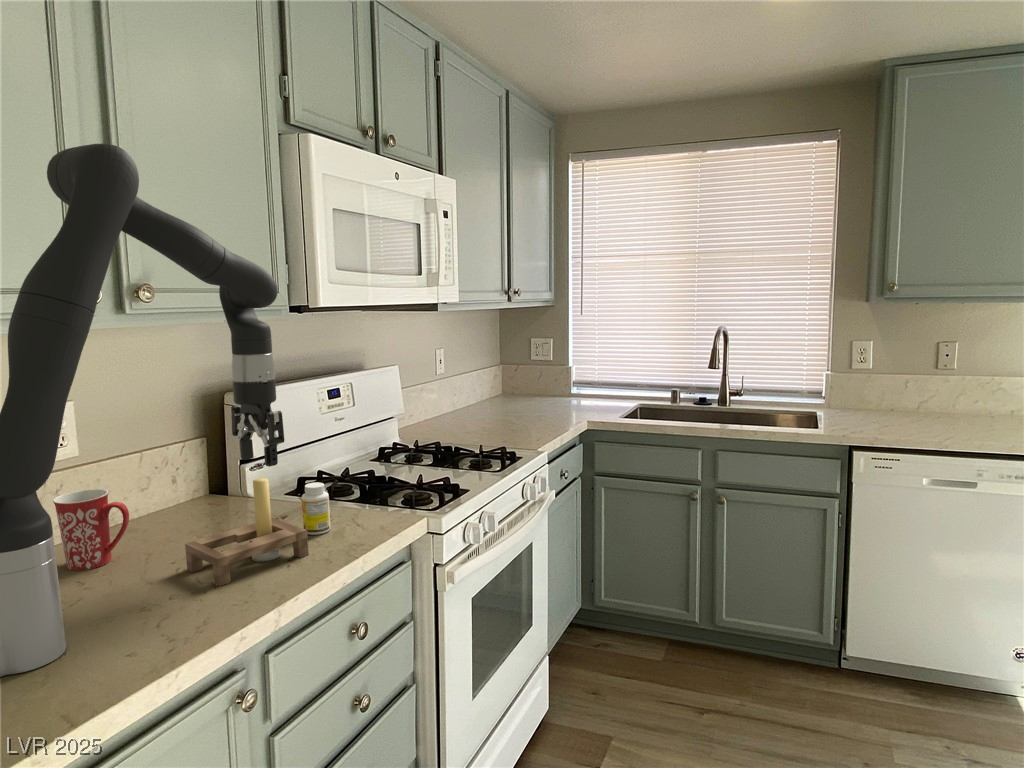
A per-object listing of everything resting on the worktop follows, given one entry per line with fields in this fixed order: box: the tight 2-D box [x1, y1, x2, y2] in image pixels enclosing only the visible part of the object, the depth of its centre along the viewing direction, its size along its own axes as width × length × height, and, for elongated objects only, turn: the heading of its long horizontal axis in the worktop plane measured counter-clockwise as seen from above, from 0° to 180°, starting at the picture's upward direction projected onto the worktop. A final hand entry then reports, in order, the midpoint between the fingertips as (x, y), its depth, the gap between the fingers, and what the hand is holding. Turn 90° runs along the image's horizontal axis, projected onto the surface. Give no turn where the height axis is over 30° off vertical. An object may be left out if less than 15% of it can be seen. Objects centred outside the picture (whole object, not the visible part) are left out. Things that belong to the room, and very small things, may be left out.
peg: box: [251, 477, 281, 562], centre depth 133 cm, size 5×5×15 cm
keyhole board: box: [184, 517, 309, 587], centre depth 131 cm, size 18×12×5 cm, turn 140°
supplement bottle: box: [301, 481, 331, 536], centre depth 147 cm, size 6×6×10 cm
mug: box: [52, 488, 130, 571], centre depth 132 cm, size 13×9×14 cm
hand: (259, 462), depth 132 cm, fingers open, 8 cm apart
